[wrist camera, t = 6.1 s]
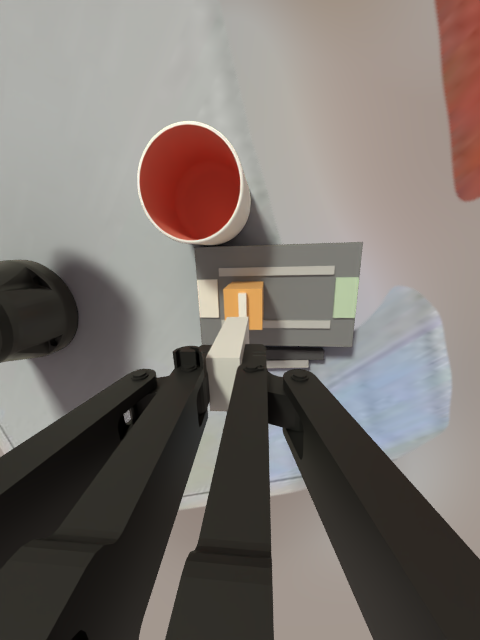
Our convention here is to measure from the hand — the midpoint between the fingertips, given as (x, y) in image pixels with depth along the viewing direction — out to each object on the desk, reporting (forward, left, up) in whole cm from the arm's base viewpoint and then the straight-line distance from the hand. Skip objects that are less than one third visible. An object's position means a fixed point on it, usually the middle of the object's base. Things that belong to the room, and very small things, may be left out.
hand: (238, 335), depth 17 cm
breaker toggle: (-1, 0, -15) cm, 15 cm away
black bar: (+2, -9, -18) cm, 20 cm away
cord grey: (+1, -11, -18) cm, 21 cm away
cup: (-5, +11, -18) cm, 22 cm away
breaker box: (+3, 0, -18) cm, 18 cm away
